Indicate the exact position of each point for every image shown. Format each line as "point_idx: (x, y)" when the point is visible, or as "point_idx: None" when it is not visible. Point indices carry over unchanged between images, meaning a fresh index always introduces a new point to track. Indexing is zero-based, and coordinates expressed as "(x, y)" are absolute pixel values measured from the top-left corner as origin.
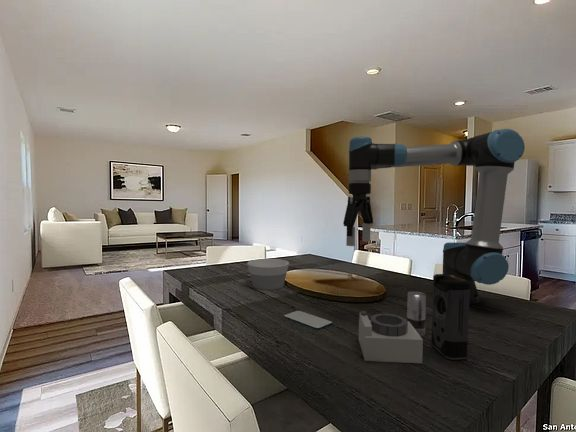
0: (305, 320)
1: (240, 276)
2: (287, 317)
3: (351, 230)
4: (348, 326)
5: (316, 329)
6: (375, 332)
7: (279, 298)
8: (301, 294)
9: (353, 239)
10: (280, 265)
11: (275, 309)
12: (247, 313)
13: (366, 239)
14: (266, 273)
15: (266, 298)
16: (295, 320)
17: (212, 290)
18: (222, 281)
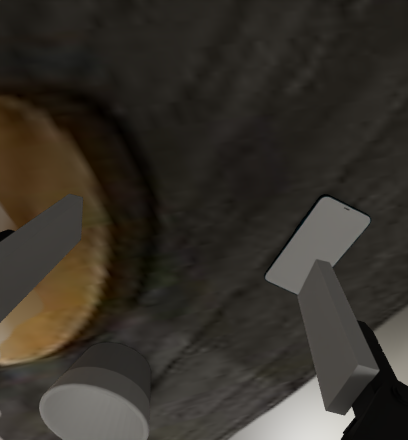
0: (326, 252)
1: None
2: None
3: (376, 358)
4: (330, 155)
5: (369, 220)
6: None
7: (193, 328)
8: (143, 297)
9: (340, 293)
10: (56, 392)
11: (266, 318)
12: (305, 354)
13: (75, 221)
14: (145, 399)
15: (204, 349)
16: None
17: (199, 433)
18: None
